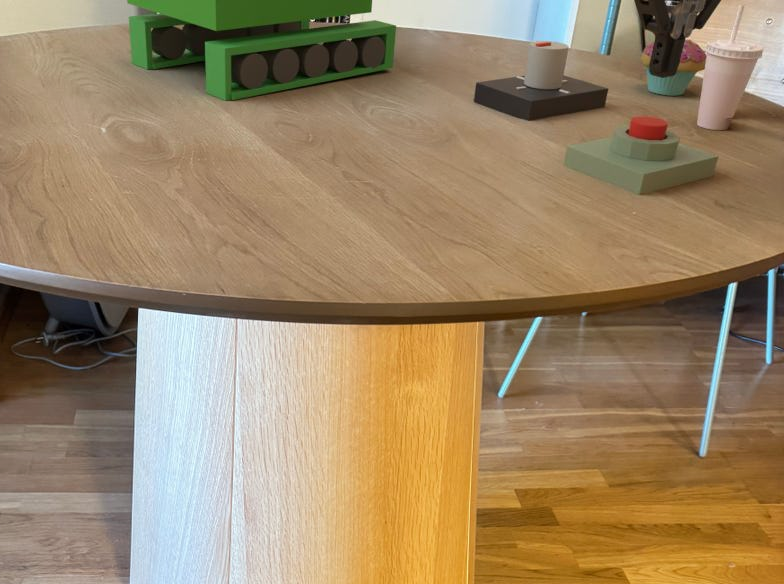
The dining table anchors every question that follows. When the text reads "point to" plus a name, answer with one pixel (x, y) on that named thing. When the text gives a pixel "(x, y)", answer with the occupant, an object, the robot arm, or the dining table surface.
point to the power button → (648, 128)
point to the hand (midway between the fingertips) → (661, 75)
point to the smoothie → (726, 78)
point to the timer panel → (539, 97)
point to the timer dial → (546, 64)
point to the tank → (260, 42)
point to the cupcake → (688, 67)
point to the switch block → (640, 161)
